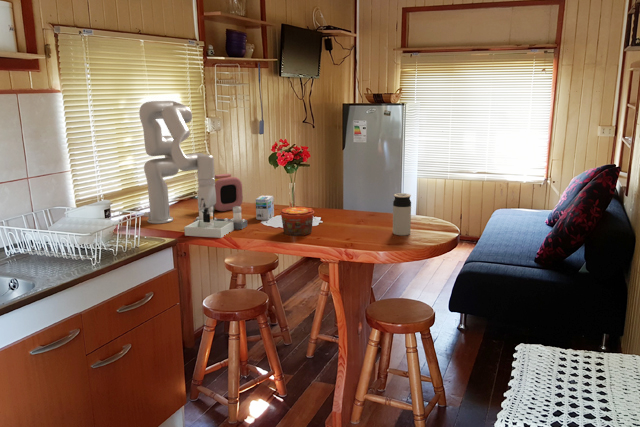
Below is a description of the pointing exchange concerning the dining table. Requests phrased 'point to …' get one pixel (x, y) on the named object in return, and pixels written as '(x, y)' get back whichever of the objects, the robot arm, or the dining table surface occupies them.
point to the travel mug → (401, 214)
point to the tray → (209, 229)
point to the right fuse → (237, 214)
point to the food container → (297, 220)
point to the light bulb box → (264, 207)
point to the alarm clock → (227, 192)
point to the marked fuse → (211, 223)
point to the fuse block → (236, 225)
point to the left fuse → (200, 214)
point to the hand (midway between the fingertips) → (209, 220)
